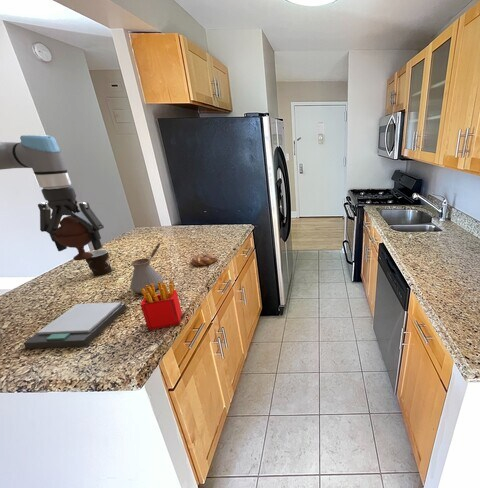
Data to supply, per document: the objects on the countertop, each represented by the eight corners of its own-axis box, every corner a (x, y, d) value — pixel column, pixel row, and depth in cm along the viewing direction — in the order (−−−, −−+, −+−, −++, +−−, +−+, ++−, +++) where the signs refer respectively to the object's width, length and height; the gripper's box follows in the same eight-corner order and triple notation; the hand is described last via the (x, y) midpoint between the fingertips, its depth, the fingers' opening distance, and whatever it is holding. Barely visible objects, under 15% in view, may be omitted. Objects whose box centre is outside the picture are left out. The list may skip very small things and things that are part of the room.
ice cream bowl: (55, 261, 90) (37, 219, 84) (91, 249, 100) (77, 211, 94) (75, 266, 87) (57, 223, 81) (110, 253, 96) (97, 214, 91)
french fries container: (153, 318, 90) (142, 284, 85) (182, 313, 94) (174, 279, 88) (148, 331, 84) (136, 295, 79) (179, 325, 87) (170, 289, 82)
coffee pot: (155, 296, 103) (145, 262, 98) (125, 297, 103) (114, 263, 97) (180, 271, 123) (173, 242, 118) (155, 271, 123) (147, 242, 117)
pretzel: (220, 257, 138) (219, 251, 136) (212, 266, 128) (211, 260, 126) (197, 257, 137) (196, 251, 136) (188, 267, 127) (186, 260, 126)
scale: (26, 349, 77) (21, 340, 76) (78, 310, 95) (75, 303, 94) (86, 346, 78) (82, 338, 77) (126, 308, 96) (124, 301, 95)
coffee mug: (103, 268, 126) (96, 249, 123) (119, 269, 125) (112, 250, 121) (79, 279, 116) (71, 259, 112) (96, 281, 114) (88, 260, 111)
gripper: (103, 184, 88) (122, 244, 96) (28, 185, 86) (54, 246, 94) (86, 188, 81) (108, 252, 89) (4, 189, 79) (34, 254, 87)
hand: (80, 249), depth 92 cm, fingers closed on ice cream bowl, 11 cm apart
